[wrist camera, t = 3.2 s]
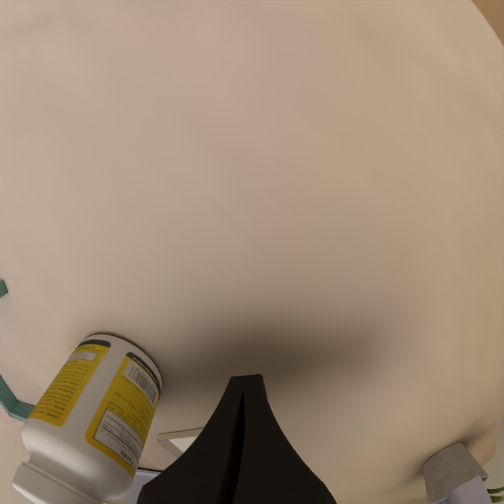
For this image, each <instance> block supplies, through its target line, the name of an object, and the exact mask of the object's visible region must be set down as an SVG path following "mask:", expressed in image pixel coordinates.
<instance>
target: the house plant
mask: <svg viewBox="0 0 504 504" xmlns="http://www.w3.org/2000/svg"><path fill="white" fill-rule="evenodd" d="M423 472H424V478H425V485H426V492H427V499H428V504H431V503H433V502H435V501H437V500H439V499H441V498H444V497H446V496H447V495H448V494H449V493H450V492H451V491H452V490H453V489H455V488H456V487H458V486H460V485H462V484H464V483H465V482H467V481H469V480H471V479H472V478H474V477H476V476H477V475H480V476H481V478H482V480H483V482H484V481H485V480H486V479H487V478H488V475H487V473H486V472H485V471H484V470H483V468H482V467H481V466H480V465H479V463H478V462H477V461H476V460H475V458H474V457H473V456H472V455H471V453H470V452H469V451H468V450H467V449H466V447H465V446H464V445H463V444H462V443H461V442H459V443H455V444H453V445H451V446H448V447H447V448H445V449H443V450H441V451H440V452H438V453H437V454H435V455H434V456H432V457H431V458H430V459H429V460H427V461H426V462H425V464H424V465H423ZM503 490H504V487H502V488H498V489H487V492H488V494H493V493H499V492H501V491H503ZM489 496H490V495H489ZM490 499H491V501H492V503H496V502H501V501H503V500H504V495H503V496H502V497H501V496H498V497H496V496H490Z"/></svg>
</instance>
